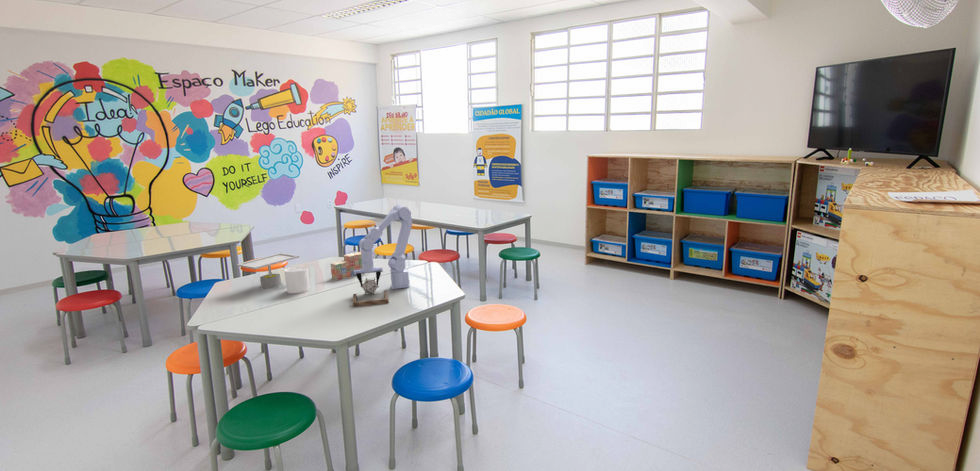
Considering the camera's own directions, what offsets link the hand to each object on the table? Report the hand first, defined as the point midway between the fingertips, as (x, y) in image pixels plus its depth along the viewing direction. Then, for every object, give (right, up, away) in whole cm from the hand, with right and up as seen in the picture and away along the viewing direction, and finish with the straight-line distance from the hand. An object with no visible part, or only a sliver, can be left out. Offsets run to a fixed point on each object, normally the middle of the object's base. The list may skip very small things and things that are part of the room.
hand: (369, 286), depth 262 cm
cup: (-41, -3, +9) cm, 42 cm away
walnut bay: (+3, -6, -12) cm, 13 cm away
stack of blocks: (-20, +3, +35) cm, 41 cm away
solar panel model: (-60, -2, +20) cm, 63 cm away
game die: (+1, -4, -1) cm, 4 cm away
